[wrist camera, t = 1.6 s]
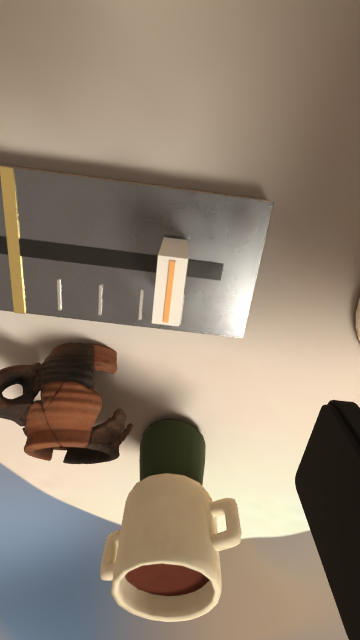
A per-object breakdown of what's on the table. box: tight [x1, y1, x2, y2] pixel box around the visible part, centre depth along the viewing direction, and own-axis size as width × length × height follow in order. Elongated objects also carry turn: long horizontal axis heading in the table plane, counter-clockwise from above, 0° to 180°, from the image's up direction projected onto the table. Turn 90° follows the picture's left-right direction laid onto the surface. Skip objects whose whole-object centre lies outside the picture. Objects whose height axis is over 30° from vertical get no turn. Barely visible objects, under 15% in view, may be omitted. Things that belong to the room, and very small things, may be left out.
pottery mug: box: [0, 343, 133, 464], centre depth 28 cm, size 12×10×8 cm
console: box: [0, 164, 274, 338], centre depth 24 cm, size 22×10×2 cm, turn 83°
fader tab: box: [152, 237, 188, 326], centre depth 20 cm, size 2×4×5 cm, turn 173°
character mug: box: [100, 419, 241, 622], centre depth 27 cm, size 11×7×13 cm, turn 116°
